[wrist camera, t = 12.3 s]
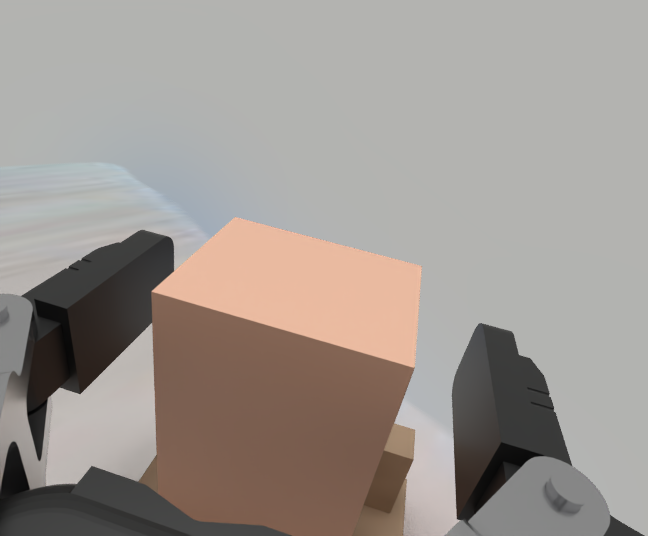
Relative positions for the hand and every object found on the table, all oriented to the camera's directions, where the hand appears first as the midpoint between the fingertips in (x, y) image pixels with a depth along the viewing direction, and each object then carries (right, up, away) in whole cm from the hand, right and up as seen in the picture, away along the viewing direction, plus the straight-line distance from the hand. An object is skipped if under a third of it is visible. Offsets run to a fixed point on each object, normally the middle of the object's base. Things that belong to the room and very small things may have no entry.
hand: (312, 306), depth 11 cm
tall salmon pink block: (-2, -8, +2) cm, 8 cm away
